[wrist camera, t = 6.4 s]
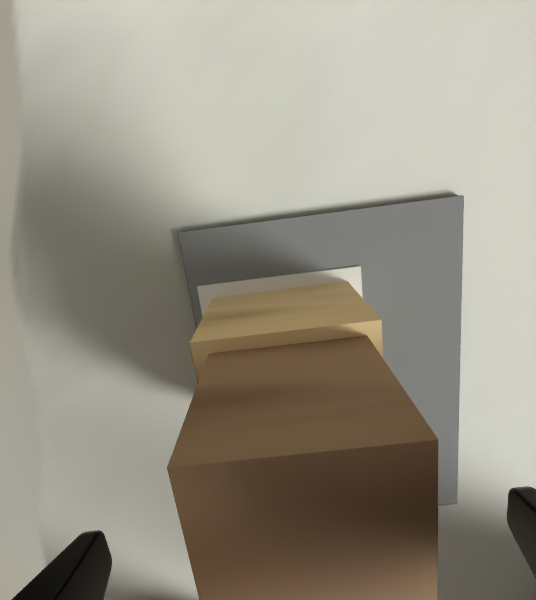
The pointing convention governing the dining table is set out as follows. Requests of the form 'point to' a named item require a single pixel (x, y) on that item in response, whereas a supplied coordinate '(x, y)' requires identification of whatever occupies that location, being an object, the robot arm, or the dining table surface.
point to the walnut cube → (307, 477)
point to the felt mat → (362, 289)
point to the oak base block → (284, 320)
